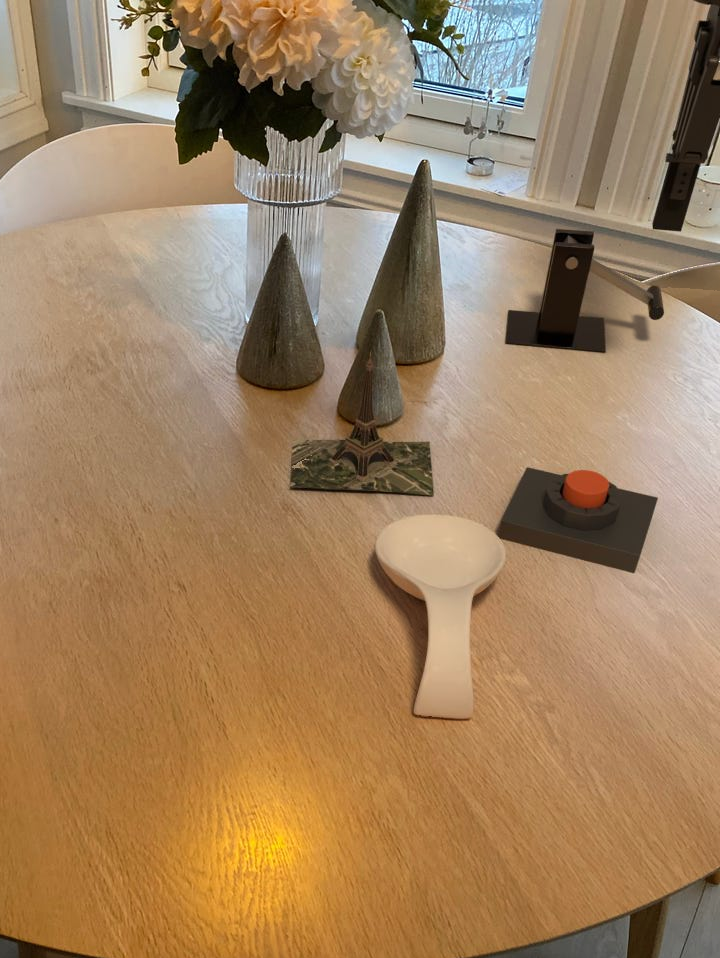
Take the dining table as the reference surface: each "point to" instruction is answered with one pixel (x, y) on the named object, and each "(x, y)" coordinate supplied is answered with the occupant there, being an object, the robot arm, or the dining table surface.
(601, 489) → the button
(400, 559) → the spoon rest
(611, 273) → the lever
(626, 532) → the button box
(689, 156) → the robot arm
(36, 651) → the dining table surface
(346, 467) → the eiffel tower figurine
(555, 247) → the bracket
